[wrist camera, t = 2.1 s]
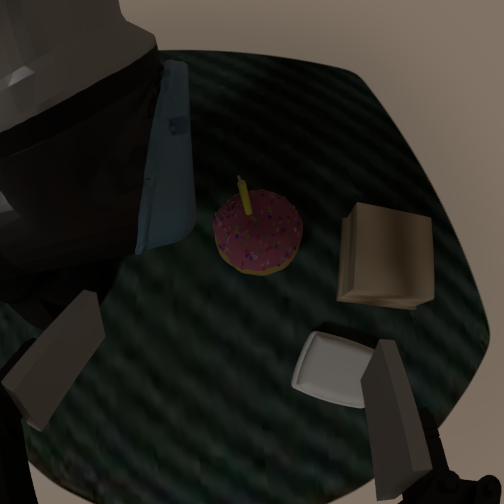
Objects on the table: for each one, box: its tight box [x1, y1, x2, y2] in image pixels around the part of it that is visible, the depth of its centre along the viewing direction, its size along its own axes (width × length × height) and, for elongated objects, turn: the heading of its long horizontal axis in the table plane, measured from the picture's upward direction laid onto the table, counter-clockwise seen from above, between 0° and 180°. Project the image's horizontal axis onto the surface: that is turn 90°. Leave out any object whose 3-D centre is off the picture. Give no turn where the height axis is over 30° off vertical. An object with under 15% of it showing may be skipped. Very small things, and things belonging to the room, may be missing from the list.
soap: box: [291, 331, 374, 408], centre depth 28 cm, size 9×7×3 cm
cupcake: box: [213, 175, 303, 276], centre depth 28 cm, size 9×8×12 cm
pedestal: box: [336, 202, 434, 310], centre depth 31 cm, size 10×10×5 cm
